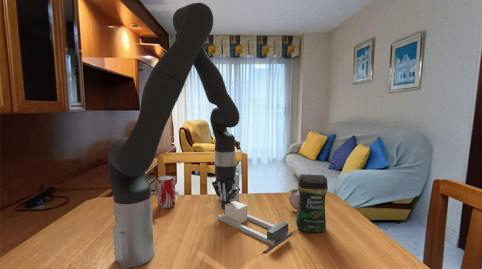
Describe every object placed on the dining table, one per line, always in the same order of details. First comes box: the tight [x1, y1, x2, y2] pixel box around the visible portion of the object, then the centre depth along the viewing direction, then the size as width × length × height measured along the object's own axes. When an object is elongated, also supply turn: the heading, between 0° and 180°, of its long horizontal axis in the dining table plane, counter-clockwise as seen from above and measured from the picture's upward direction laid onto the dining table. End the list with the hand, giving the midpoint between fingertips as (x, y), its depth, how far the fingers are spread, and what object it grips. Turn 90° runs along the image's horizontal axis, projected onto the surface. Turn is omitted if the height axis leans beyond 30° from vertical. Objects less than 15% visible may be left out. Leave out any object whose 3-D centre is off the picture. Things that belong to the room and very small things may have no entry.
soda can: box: [156, 175, 176, 209], centre depth 104 cm, size 7×7×12 cm
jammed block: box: [224, 201, 248, 224], centre depth 89 cm, size 6×5×6 cm
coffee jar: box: [295, 173, 329, 233], centre depth 85 cm, size 10×8×19 cm
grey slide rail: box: [217, 213, 294, 254], centre depth 85 cm, size 24×14×5 cm, turn 46°
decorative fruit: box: [288, 188, 300, 211], centre depth 98 cm, size 9×8×10 cm
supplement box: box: [219, 171, 240, 203], centre depth 109 cm, size 7×7×13 cm
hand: (225, 209), depth 93 cm, fingers closed
